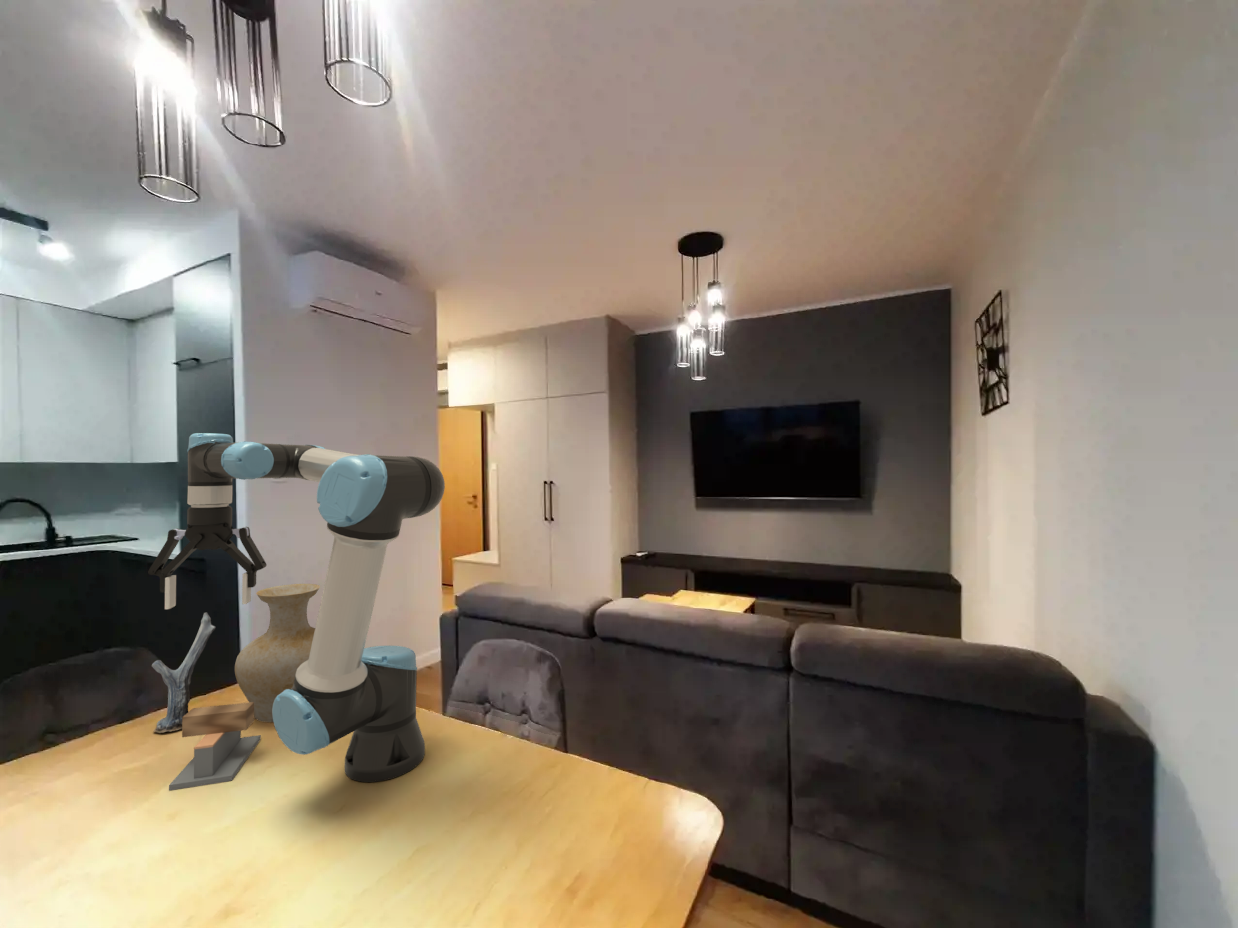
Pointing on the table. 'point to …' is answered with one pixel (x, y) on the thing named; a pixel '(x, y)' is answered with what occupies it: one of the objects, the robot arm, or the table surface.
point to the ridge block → (216, 759)
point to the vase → (276, 647)
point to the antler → (181, 680)
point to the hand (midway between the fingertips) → (209, 605)
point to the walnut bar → (217, 719)
